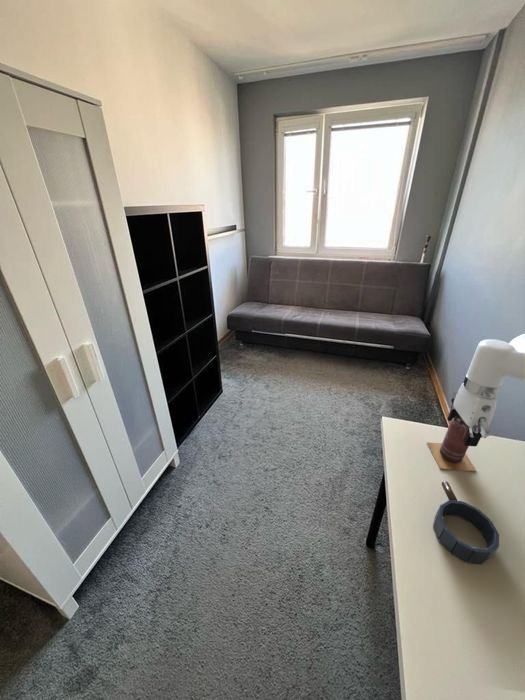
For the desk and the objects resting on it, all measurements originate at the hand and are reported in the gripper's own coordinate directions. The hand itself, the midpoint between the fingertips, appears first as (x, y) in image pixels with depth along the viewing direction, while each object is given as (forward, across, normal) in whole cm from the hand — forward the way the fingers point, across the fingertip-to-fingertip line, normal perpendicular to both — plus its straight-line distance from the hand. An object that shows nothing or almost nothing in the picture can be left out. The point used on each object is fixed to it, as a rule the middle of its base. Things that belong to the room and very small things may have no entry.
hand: (460, 432), depth 82 cm
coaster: (+10, 0, 0) cm, 11 cm away
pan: (+10, -21, +8) cm, 25 cm away
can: (+10, 0, 0) cm, 10 cm away
